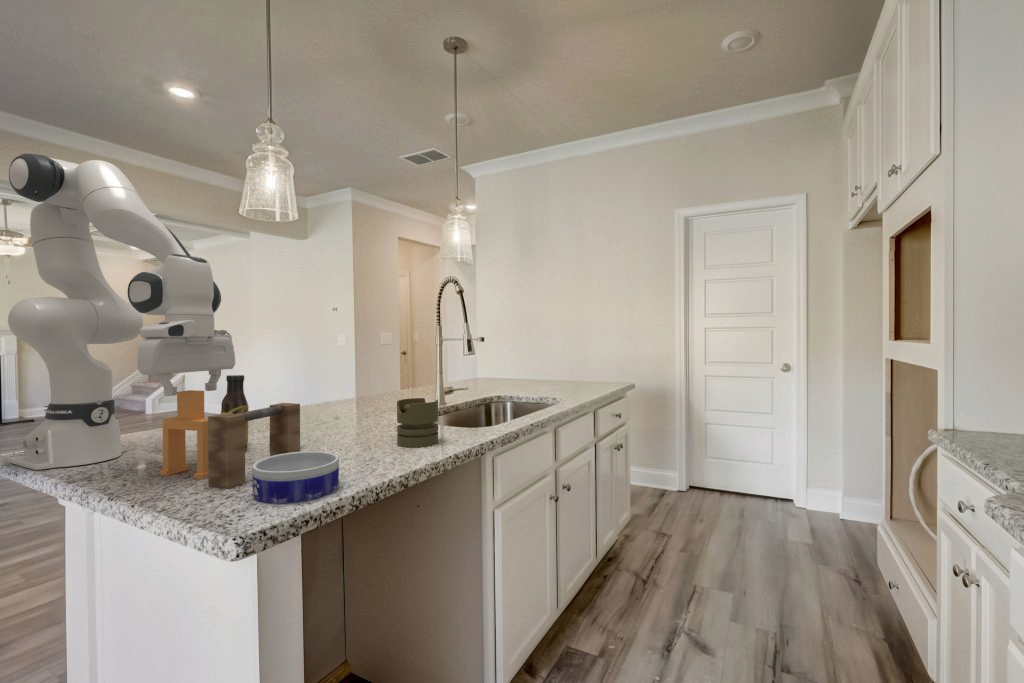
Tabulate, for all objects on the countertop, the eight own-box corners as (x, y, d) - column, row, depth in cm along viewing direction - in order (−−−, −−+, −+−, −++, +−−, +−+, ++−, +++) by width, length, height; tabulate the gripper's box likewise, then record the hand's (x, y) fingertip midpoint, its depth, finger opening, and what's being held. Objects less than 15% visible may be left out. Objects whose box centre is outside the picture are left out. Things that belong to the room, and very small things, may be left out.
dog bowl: (354, 489, 92) (354, 458, 92) (274, 511, 81) (273, 476, 81) (315, 475, 102) (315, 447, 102) (239, 492, 90) (238, 461, 90)
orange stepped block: (159, 475, 101) (159, 391, 101) (181, 468, 106) (181, 389, 106) (201, 479, 98) (201, 393, 98) (222, 472, 103) (221, 390, 103)
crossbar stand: (208, 486, 93) (208, 416, 93) (282, 461, 113) (282, 402, 113) (228, 488, 92) (228, 417, 92) (300, 462, 111) (299, 403, 111)
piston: (420, 397, 140) (446, 400, 132) (420, 437, 140) (446, 442, 133) (388, 401, 131) (414, 404, 124) (388, 444, 131) (414, 450, 124)
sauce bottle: (235, 454, 119) (234, 376, 119) (214, 453, 120) (213, 376, 120) (254, 448, 125) (253, 374, 125) (234, 447, 127) (233, 374, 126)
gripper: (220, 330, 113) (221, 387, 113) (131, 328, 93) (132, 398, 93) (241, 329, 111) (242, 388, 111) (155, 328, 91) (156, 399, 92)
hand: (191, 393), depth 102 cm, fingers open, 8 cm apart
